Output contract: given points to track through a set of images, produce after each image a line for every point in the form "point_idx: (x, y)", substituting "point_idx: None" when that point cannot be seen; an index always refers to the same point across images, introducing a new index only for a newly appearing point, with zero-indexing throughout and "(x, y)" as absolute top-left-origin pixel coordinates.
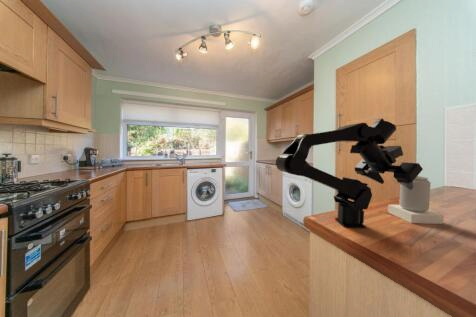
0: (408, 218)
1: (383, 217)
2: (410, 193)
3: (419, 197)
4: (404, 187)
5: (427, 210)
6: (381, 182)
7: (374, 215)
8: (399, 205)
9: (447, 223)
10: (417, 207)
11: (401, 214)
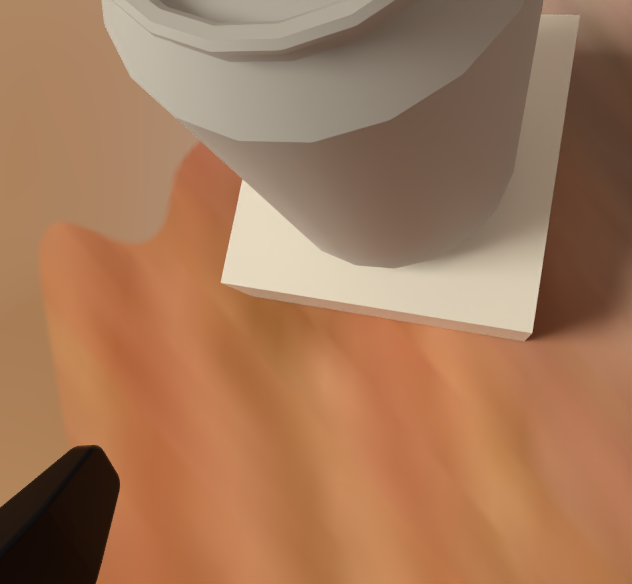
0: (492, 332)
1: (371, 482)
2: (424, 196)
3: (507, 142)
4: (320, 193)
5: None
6: (99, 524)
7: (313, 526)
8: None
9: None
10: (492, 203)
11: (405, 316)
